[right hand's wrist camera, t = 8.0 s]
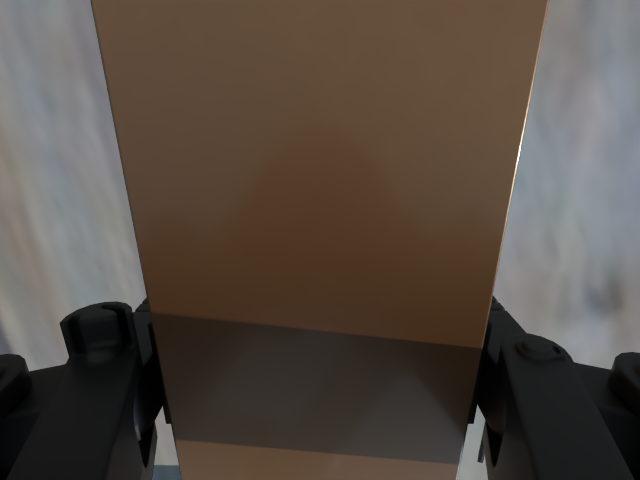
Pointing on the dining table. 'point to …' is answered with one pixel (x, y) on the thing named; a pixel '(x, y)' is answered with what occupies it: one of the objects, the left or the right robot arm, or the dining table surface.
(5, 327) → the dining table surface
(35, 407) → the right robot arm
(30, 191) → the dining table surface
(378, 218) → the post
